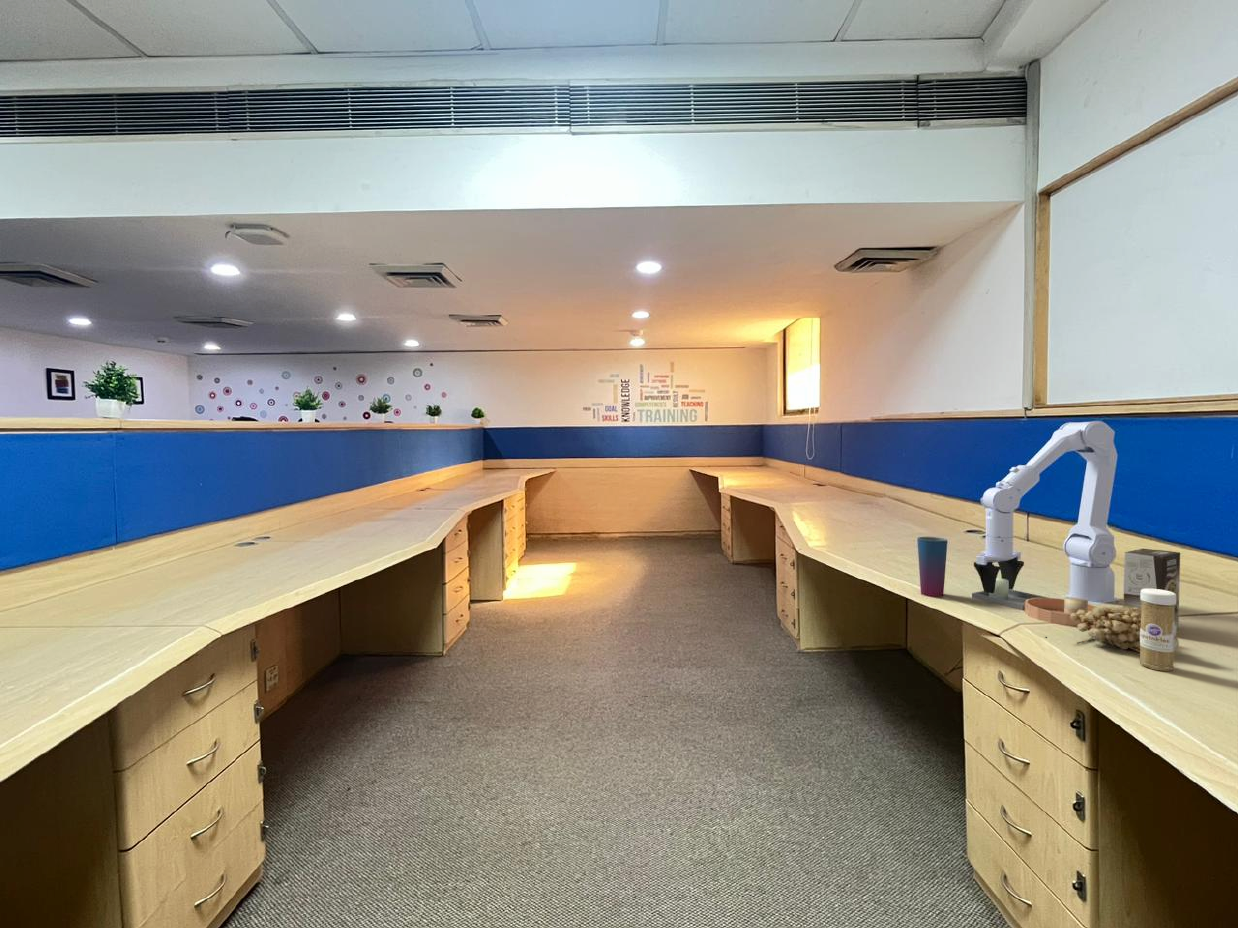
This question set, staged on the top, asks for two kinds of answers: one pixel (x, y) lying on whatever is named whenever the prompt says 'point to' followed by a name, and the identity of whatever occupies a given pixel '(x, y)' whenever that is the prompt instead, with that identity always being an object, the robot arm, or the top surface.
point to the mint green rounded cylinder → (1000, 589)
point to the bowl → (1050, 611)
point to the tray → (1013, 601)
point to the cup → (932, 565)
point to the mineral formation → (1114, 626)
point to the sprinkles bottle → (1157, 629)
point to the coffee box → (1151, 575)
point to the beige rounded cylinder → (1075, 605)
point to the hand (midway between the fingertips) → (998, 590)
